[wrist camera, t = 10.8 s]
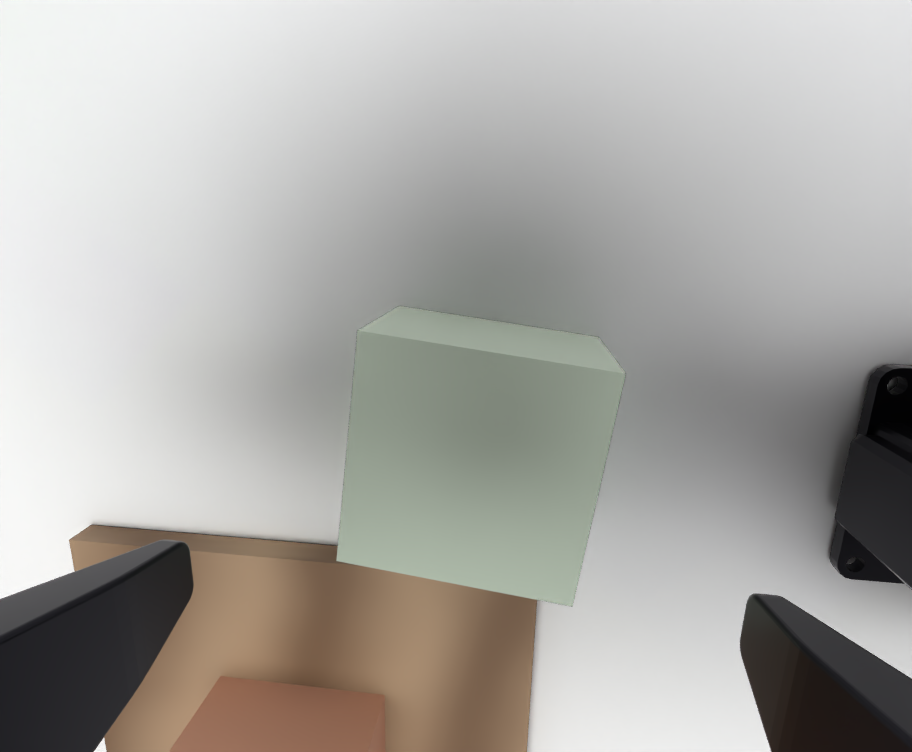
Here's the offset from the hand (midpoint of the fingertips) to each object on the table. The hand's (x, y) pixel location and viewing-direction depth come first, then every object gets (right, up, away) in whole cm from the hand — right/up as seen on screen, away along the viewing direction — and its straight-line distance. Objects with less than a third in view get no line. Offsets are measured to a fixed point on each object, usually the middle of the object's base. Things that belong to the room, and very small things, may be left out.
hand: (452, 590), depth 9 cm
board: (-5, -10, +12) cm, 17 cm away
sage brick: (+1, +2, +8) cm, 9 cm away
